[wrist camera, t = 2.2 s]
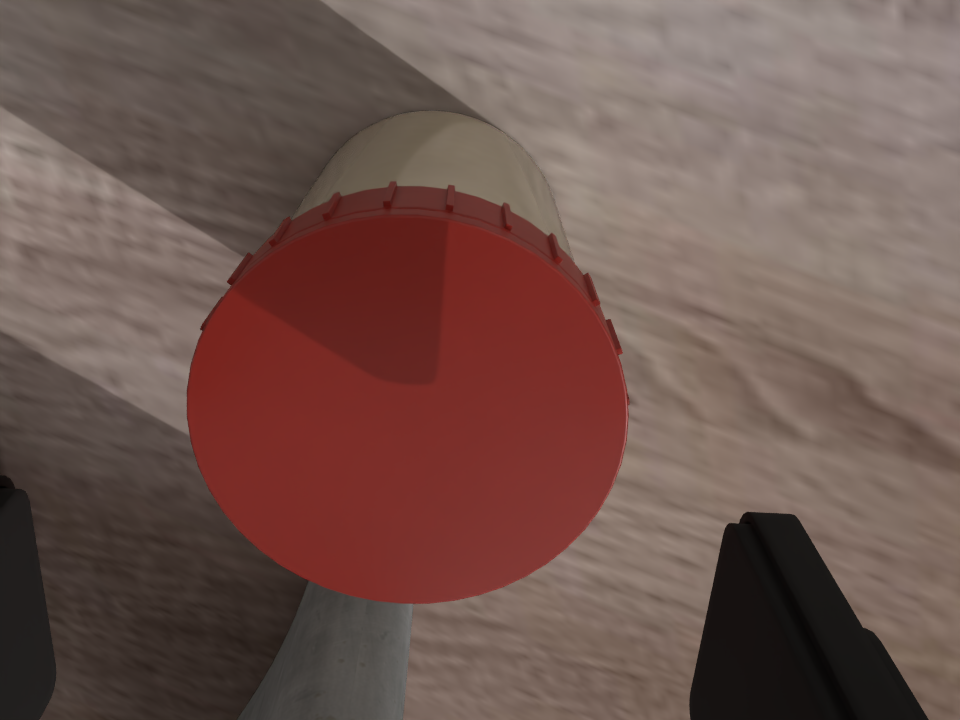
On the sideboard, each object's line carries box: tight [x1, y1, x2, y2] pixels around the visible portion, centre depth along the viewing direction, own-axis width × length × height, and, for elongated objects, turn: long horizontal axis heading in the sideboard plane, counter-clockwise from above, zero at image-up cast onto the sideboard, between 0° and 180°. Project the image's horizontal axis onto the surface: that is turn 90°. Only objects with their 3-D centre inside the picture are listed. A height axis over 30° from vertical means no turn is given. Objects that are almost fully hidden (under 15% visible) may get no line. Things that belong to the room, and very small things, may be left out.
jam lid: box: [187, 181, 630, 604], centre depth 15 cm, size 7×7×2 cm
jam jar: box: [291, 111, 575, 263], centre depth 19 cm, size 6×6×10 cm
